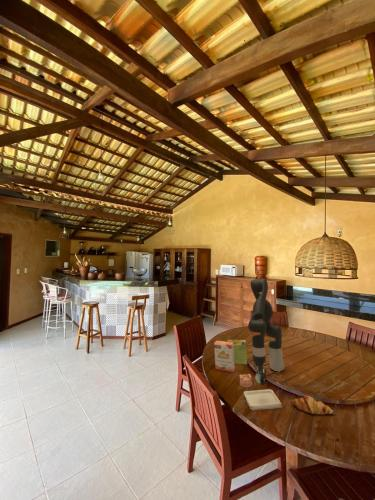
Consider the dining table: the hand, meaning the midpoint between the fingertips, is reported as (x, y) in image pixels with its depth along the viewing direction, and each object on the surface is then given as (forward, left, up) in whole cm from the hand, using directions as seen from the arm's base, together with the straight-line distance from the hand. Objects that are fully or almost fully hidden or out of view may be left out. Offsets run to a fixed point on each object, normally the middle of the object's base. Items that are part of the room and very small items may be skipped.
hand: (260, 381), depth 138 cm
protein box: (+1, -52, -12) cm, 53 cm away
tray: (0, 0, -12) cm, 12 cm away
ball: (0, 0, +2) cm, 2 cm away
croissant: (-25, +11, -12) cm, 30 cm away
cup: (+4, -19, -12) cm, 23 cm away
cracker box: (+14, -40, -12) cm, 44 cm away
